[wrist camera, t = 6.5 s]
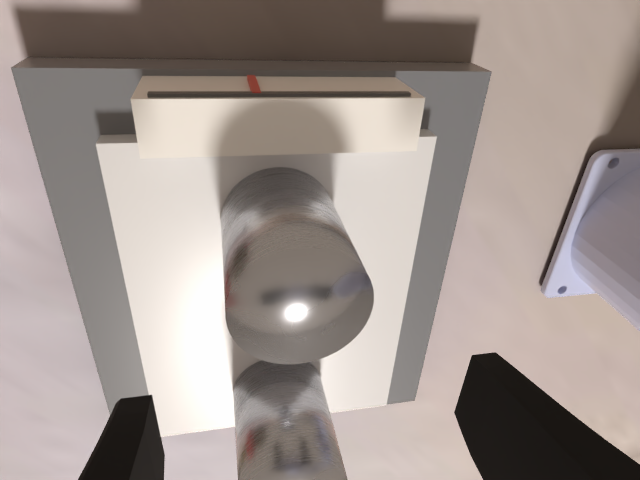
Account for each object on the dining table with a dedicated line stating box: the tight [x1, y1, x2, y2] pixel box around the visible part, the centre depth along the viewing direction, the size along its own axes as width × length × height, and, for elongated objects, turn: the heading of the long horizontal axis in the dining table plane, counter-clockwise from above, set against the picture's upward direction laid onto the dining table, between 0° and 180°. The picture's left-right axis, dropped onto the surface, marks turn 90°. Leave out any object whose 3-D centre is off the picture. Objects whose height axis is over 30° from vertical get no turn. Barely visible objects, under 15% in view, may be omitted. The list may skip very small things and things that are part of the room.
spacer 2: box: [233, 360, 347, 480], centre depth 19 cm, size 4×4×5 cm
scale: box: [11, 57, 491, 437], centre depth 19 cm, size 15×17×4 cm
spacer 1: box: [221, 167, 374, 364], centre depth 14 cm, size 4×4×5 cm
